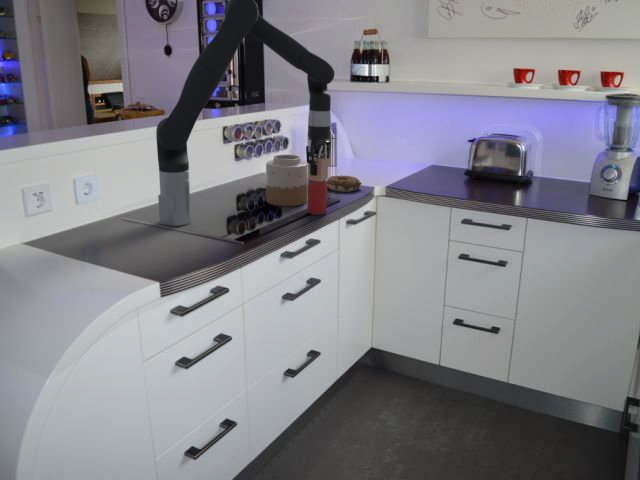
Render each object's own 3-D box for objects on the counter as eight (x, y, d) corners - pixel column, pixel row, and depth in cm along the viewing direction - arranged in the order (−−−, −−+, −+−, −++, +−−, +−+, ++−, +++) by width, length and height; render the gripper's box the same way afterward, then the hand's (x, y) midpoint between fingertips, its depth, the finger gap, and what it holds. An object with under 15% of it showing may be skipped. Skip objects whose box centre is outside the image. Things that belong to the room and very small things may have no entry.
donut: (322, 191, 241) (323, 179, 240) (330, 184, 254) (330, 172, 252) (358, 194, 238) (358, 182, 237) (363, 187, 251) (364, 175, 249)
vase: (311, 198, 230) (313, 155, 224) (299, 208, 216) (300, 162, 210) (274, 194, 234) (274, 151, 228) (259, 204, 220) (259, 158, 214)
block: (320, 181, 204) (321, 161, 201) (307, 179, 206) (308, 159, 203) (327, 179, 208) (328, 158, 206) (314, 177, 210) (315, 157, 208)
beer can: (324, 216, 207) (325, 182, 203) (305, 214, 208) (306, 180, 204) (327, 211, 213) (329, 178, 209) (309, 209, 214) (310, 176, 210)
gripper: (319, 127, 193) (317, 179, 198) (338, 122, 205) (336, 171, 211) (298, 125, 196) (298, 176, 202) (319, 121, 209) (317, 169, 214)
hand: (317, 173), depth 206 cm, fingers open, 5 cm apart
